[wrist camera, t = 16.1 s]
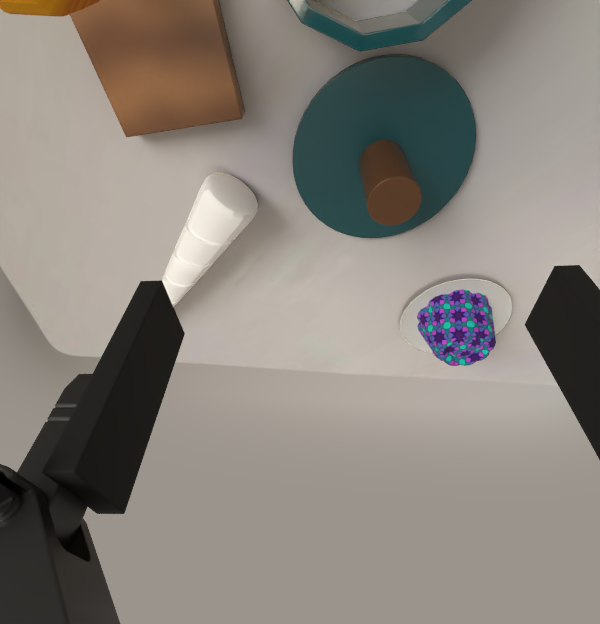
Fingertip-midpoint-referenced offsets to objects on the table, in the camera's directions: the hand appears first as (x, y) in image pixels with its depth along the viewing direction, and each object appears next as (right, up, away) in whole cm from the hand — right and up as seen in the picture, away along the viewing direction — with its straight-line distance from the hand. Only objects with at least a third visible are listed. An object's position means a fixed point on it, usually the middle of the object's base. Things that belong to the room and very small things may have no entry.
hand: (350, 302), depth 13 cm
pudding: (+16, -1, +29) cm, 33 cm away
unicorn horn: (-13, +5, +25) cm, 28 cm away
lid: (+5, +12, +17) cm, 21 cm away
